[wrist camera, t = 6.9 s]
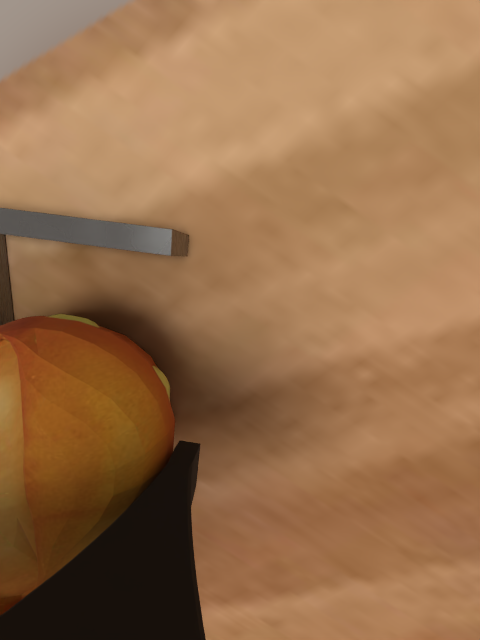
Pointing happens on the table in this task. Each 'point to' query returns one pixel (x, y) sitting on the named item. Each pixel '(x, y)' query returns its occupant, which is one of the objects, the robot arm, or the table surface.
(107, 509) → the cheeseburger
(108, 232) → the grey low angled fixture
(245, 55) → the table surface
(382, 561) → the table surface
